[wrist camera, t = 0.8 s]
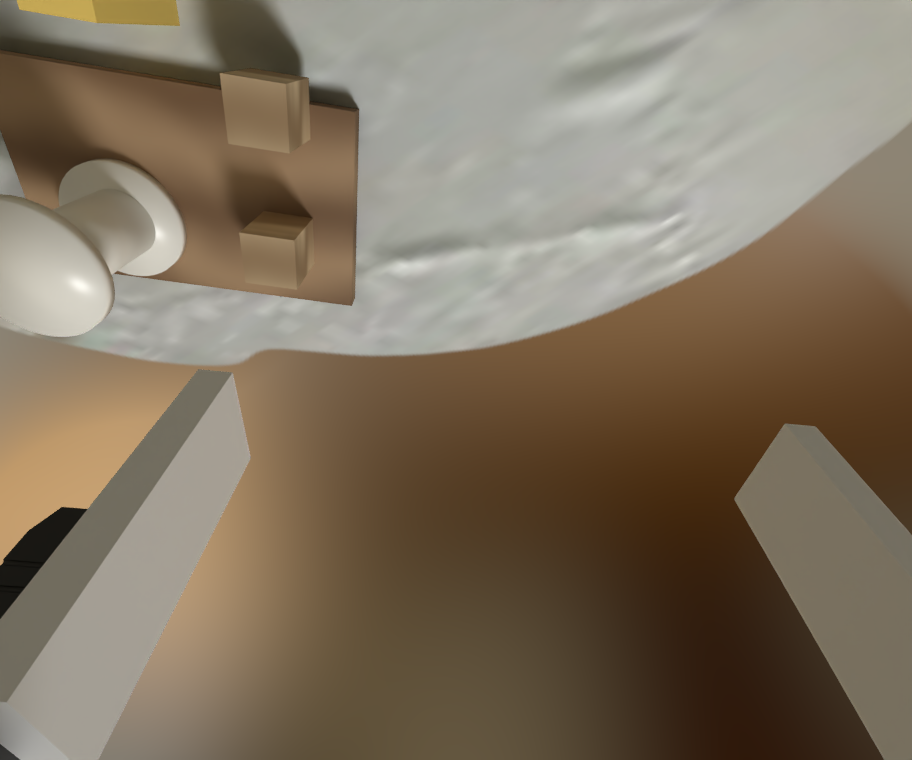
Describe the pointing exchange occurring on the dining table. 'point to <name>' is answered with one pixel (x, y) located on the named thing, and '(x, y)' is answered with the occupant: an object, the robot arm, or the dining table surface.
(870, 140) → the dining table surface
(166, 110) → the board
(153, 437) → the robot arm
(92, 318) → the knob
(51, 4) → the yellow rectangular block
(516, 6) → the dining table surface
